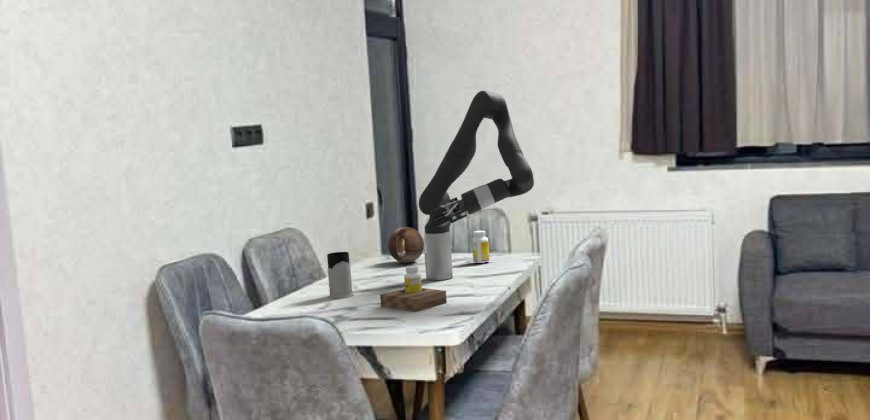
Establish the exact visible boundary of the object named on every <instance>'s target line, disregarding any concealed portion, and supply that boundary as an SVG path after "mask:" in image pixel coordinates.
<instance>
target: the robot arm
mask: <svg viewBox="0 0 870 420" xmlns="http://www.w3.org/2000/svg"><path fill="white" fill-rule="evenodd" d="M484 119H489V120H492V121H493V123H494V125H495V127H496V129H497V133H498V134H497V135H498V136H497V149H498V152H499V154H500V156H501V159H502V161H503V163H504V165H505V166H506V167H507V168H508V172H509V174H510V176H511V178H510V179H506V180H504V179H502V178H498V179H494V180H492V181H489V182H487V183H485V184H482V185H479V186H477V187H475V188H472V189H470V190H468V191H466V192H464V193H463V192H462V193H461V194H460V198H461V199H458V197H453V198H450V195H449V193H448V190H449V189H450V187H451V186H452V185H453V183H455V181H456V180H457V179H458V178H460V177H461V176H462V175H463V173H464V172H465V171H466V169H467V168H468V167H469V166H470V164H471V163H472V160H473V158H474V157H475V154H476V151H477V131H478V129H479V127H480V125H481V123H482V122H483V120H484ZM453 138H454V139H453V140H452V142H451V143H450V145H449V147H448V149H447V150H446V152H445V155H444V157H443V158H442V161H441V162H440V163H439V166H438V168H437V169H436V171H435V173H434V175H433V176H432V178H431V180H430V181H429V182H428V184H427V185H426V187H425V188H424V189H423V191H422V193H421V194H420V197H419V199H418V208H419V211H420V212H421V213H422V214H423V215H426V216H429V219H428V221H427V223H426V224H425V225H424V236H425V237H424V240H425V250H426V251H425V253H424V263H425V264H424V265H425V279H428V280H431V281H443V280H450V279H452V278H453V277H454V275H453V259H452V257H453V256H452V244H451V242H452V241H451V229H450V228H451V224H454V223H456V222H458V221H460V220H461V219H464V218H465V217H467V216H468V215H474V214H476V213H477V212H480V211H483V210H485V209H486V208H488V207H489V208H490V206H492V205H494V204H495V203H498V202H500V201H503V200H505V199H508V198H513V197H517V196H522V195H525V194H527V193H528V192H530V191H531V190H532V188H533V187H534V184H535V179H534V173H533V170H532V168H531V166H530V164H529V162H528V161H527V159H526V158H525V155H524V153H523V150H522V148H521V146H520V143H519V142H518V139H517V137H516V134H515V131H514V128H513V125H512V120H511V116H510V112H509V109H508V105H507V102H506V98H505V97H504V96H503V95H502V94H499V93H497V92H492V91H489V90H480V91H478V92H476V94H475V95H474V97H473V98H472V100H471V102H470V104H469V106H468V109H467V111H466V115H465V116H464V118H463V120H462V123H461V125H460V127H459V129H458V131H457V133H456V134H455V136H454V137H453ZM467 213H468V214H467Z"/></svg>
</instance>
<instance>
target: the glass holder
mask: <svg viewBox="0 0 870 420" xmlns="http://www.w3.org/2000/svg"><path fill="white" fill-rule="evenodd" d="M326 258H327V260H326V261H327V276H328V288H329V289H328V290H329V294H328V299H330V300H331V299H332V300H341V299H349V298H352V297H354V296H355V295H354V292H353V283H352V281H353V280H352V270H351V265H350V253H349V252H348V251H334V252H330V253H327V254H326Z"/></svg>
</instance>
